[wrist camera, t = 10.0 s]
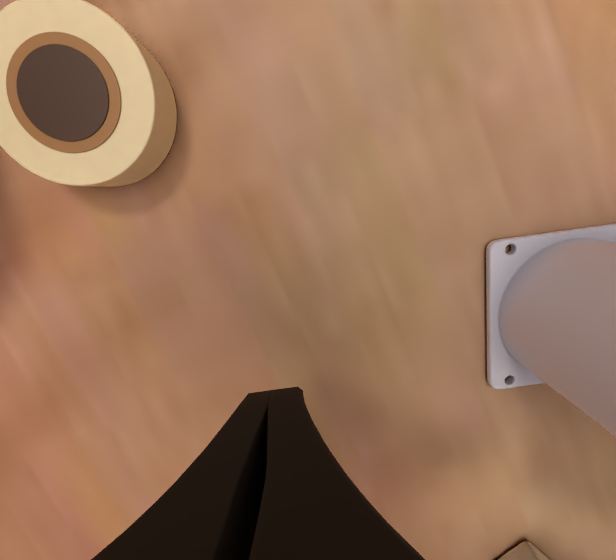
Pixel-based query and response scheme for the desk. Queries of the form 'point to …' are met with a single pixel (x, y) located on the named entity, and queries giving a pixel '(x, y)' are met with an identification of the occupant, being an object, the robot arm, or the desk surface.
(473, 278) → the desk surface
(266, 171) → the desk surface
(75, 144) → the tape roll
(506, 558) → the box
